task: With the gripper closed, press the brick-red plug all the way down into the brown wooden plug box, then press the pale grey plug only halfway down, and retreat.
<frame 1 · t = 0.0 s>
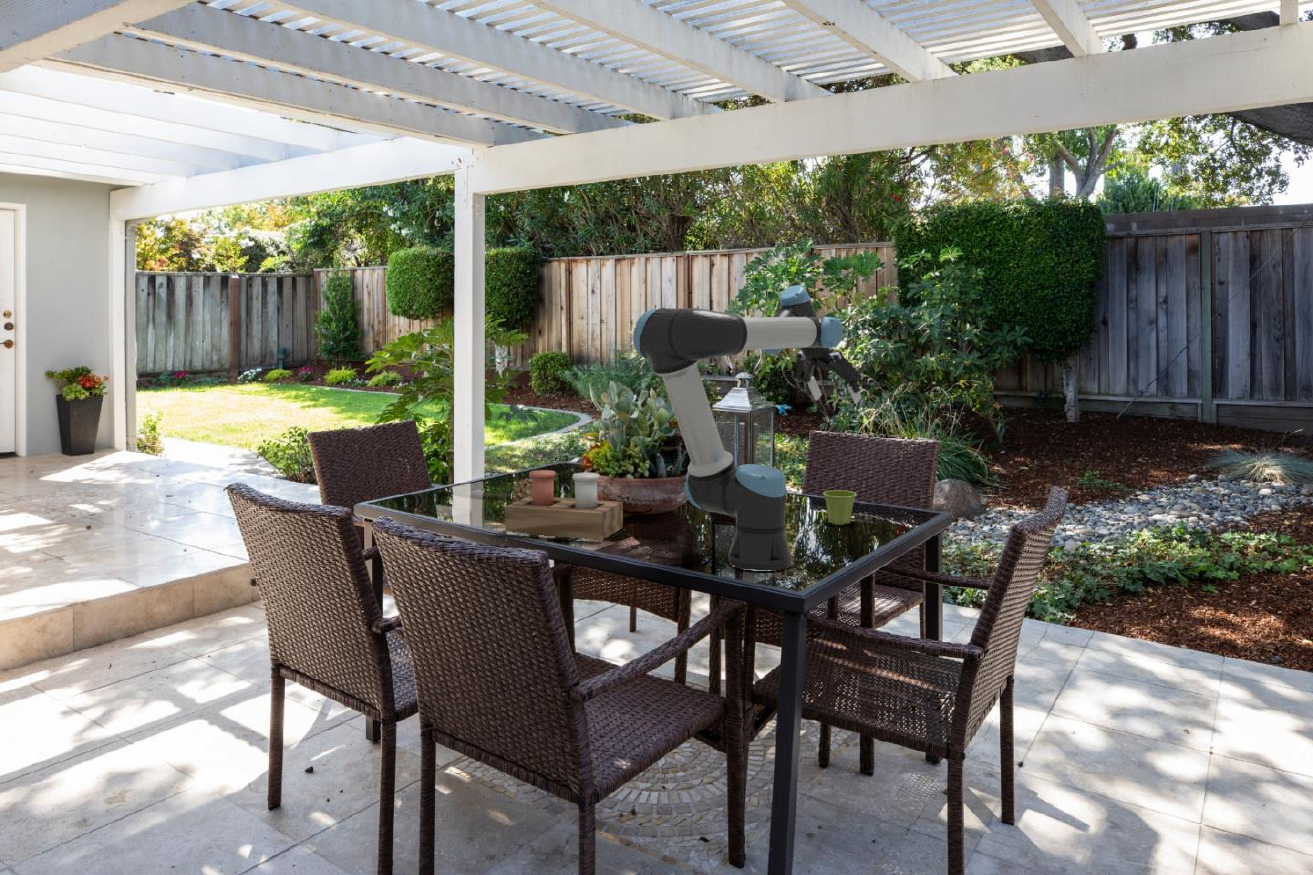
hand: (838, 399, 259), 36 cm above the table, tool tilted 35°, fingers open, 13 cm apart
red plug: (542, 491, 255), point 11 cm above the table, slide at 0.0 cm
brown wooden plug box: (564, 532, 254), on the table
plant pot: (839, 523, 266), on the table
pine cone: (527, 514, 279), on the table
grey plug: (586, 494, 251), point 11 cm above the table, slide at 0.0 cm
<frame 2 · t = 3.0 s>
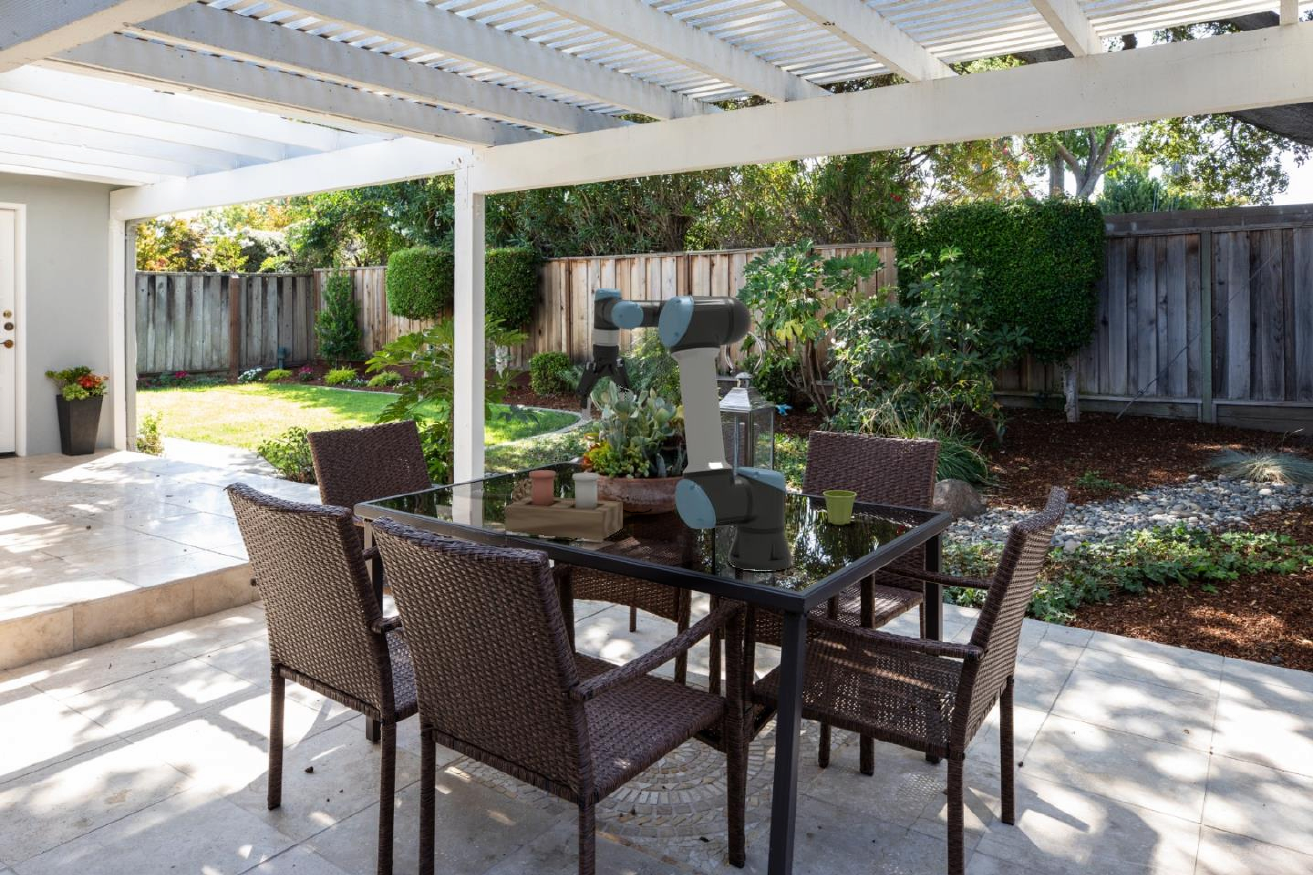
hand: (602, 416, 266), 30 cm above the table, tool pointing down, fingers open, 13 cm apart
nothing on the table moved.
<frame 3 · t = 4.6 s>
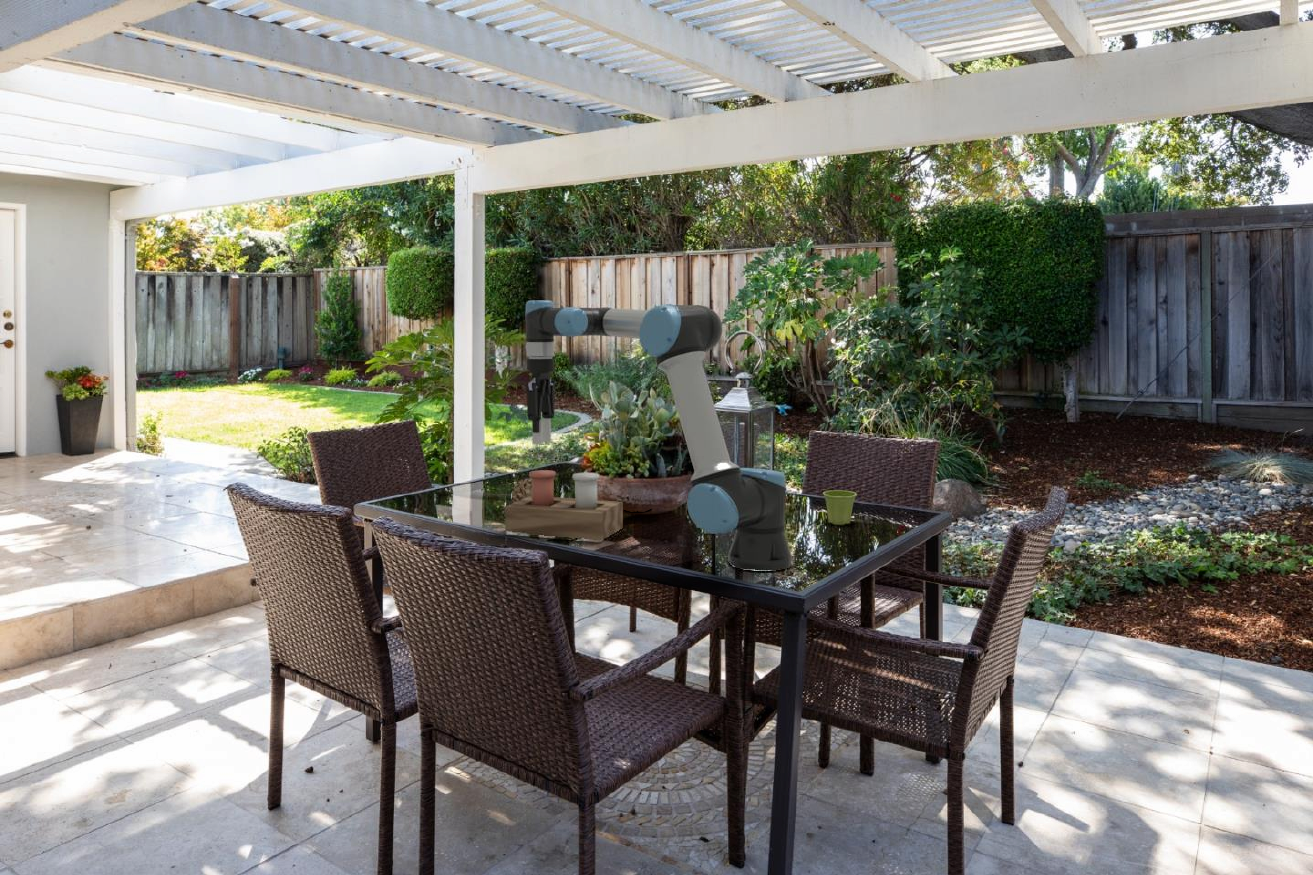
hand: (541, 442, 253), 25 cm above the table, tool pointing down, fingers open, 4 cm apart
nothing on the table moved.
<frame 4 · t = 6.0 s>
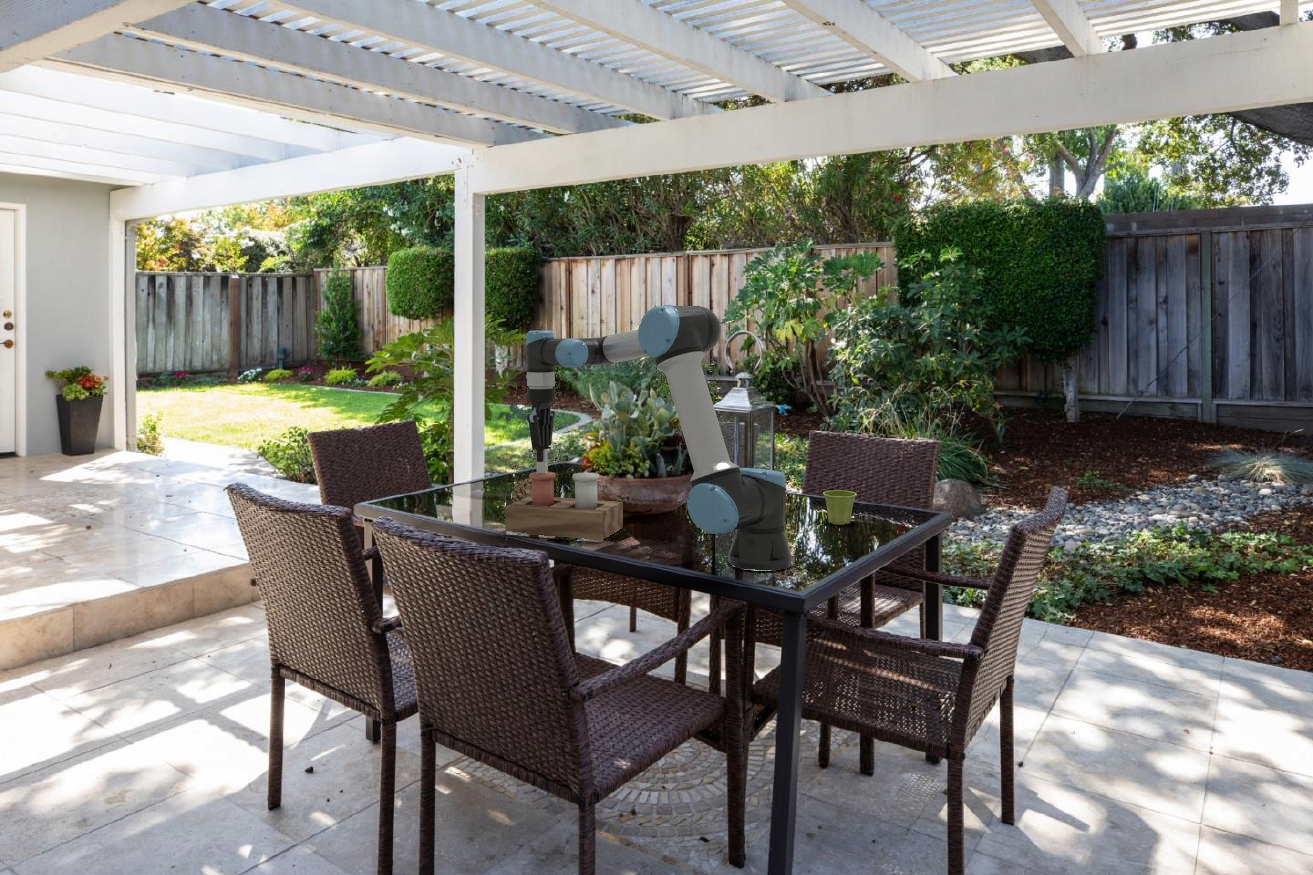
hand: (542, 472, 254), 16 cm above the table, tool pointing down, fingers closed
red plug: (542, 493, 255), point 11 cm above the table, slide at 0.4 cm, touching gripper
everything else where it was.
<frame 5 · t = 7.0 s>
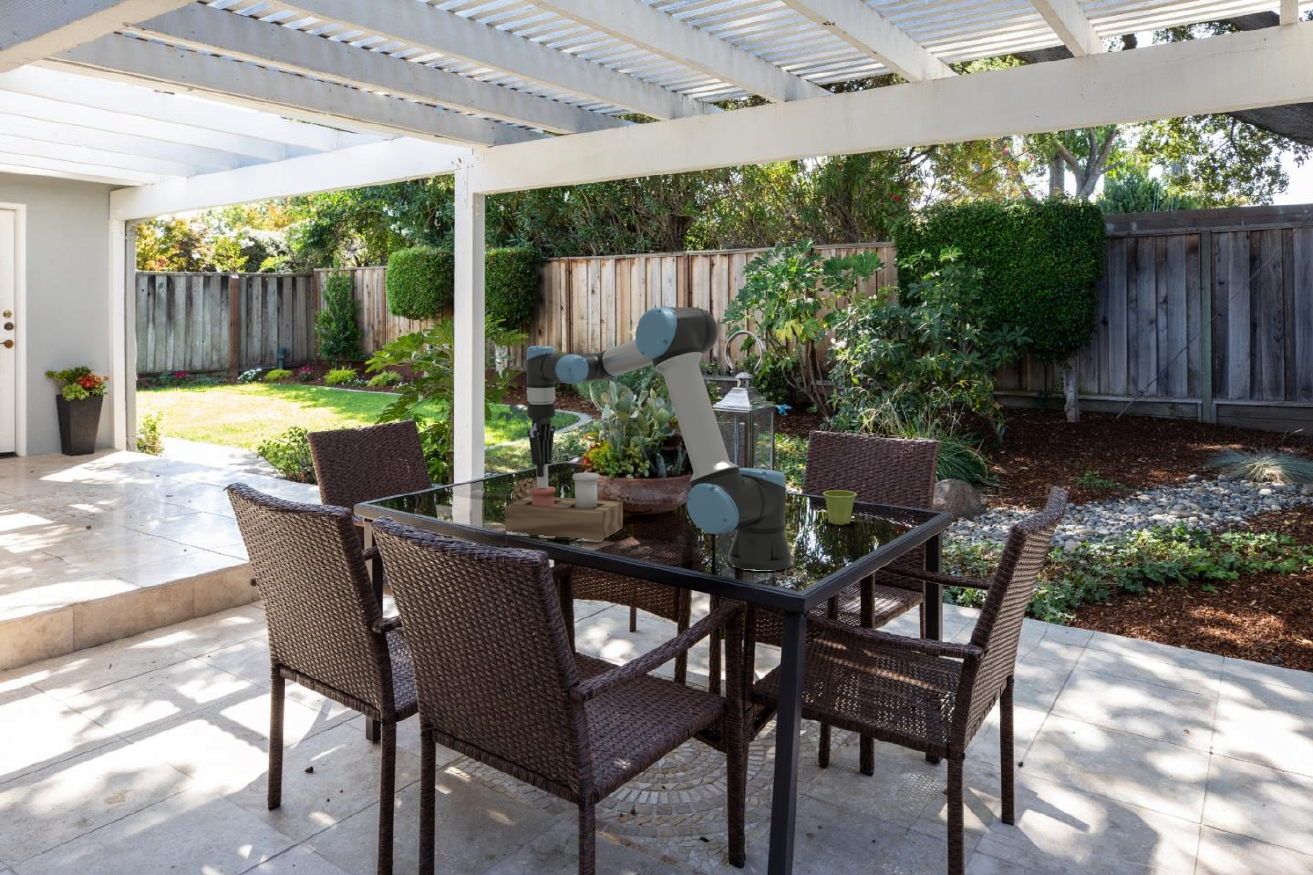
hand: (542, 487, 255), 12 cm above the table, tool pointing down, fingers closed
red plug: (543, 508, 255), point 6 cm above the table, slide at 4.6 cm, touching gripper
everything else where it was.
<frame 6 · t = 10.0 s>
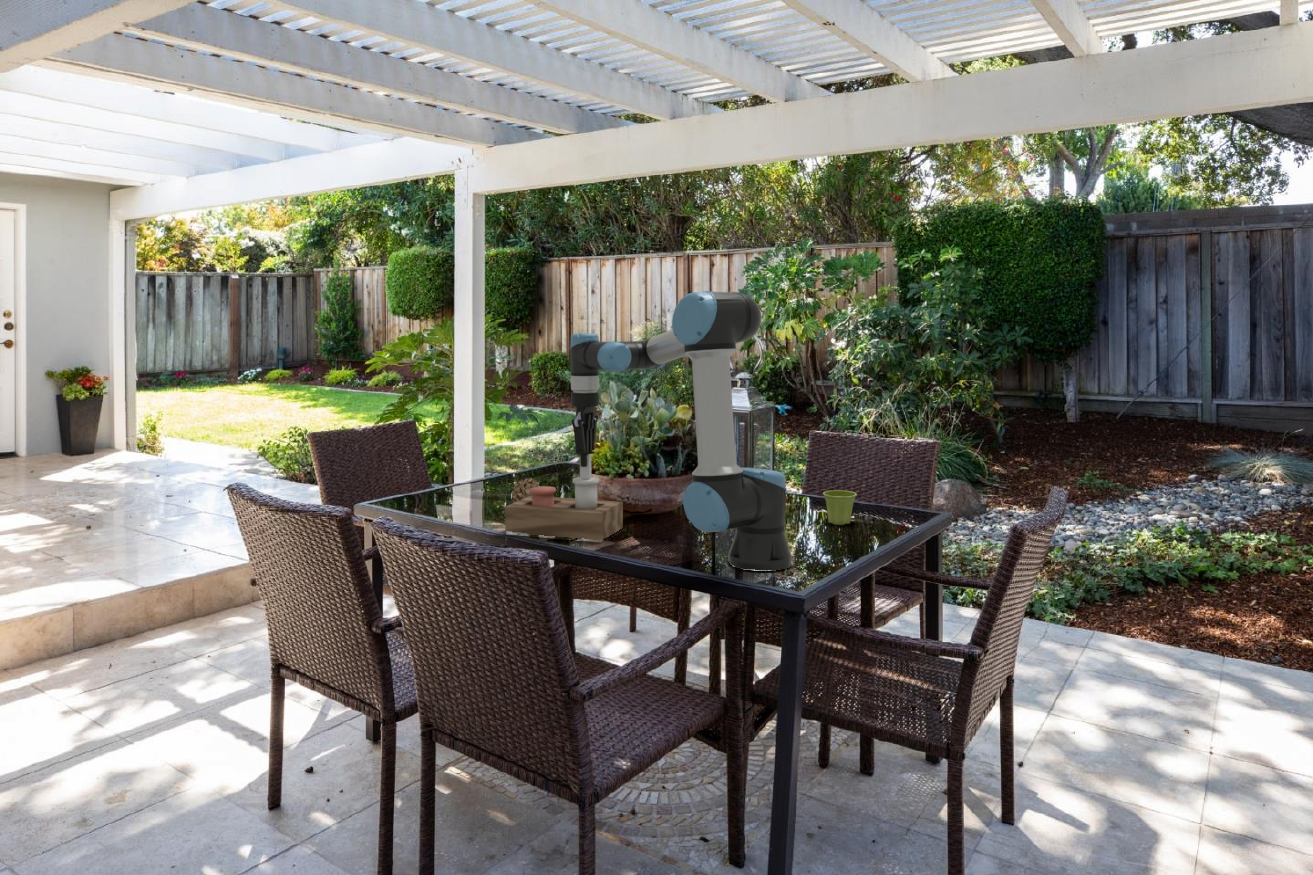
hand: (585, 478, 250), 16 cm above the table, tool pointing down, fingers closed
red plug: (543, 508, 255), point 6 cm above the table, slide at 4.6 cm
grey plug: (586, 498, 251), point 10 cm above the table, slide at 1.2 cm, touching gripper
everything else where it was.
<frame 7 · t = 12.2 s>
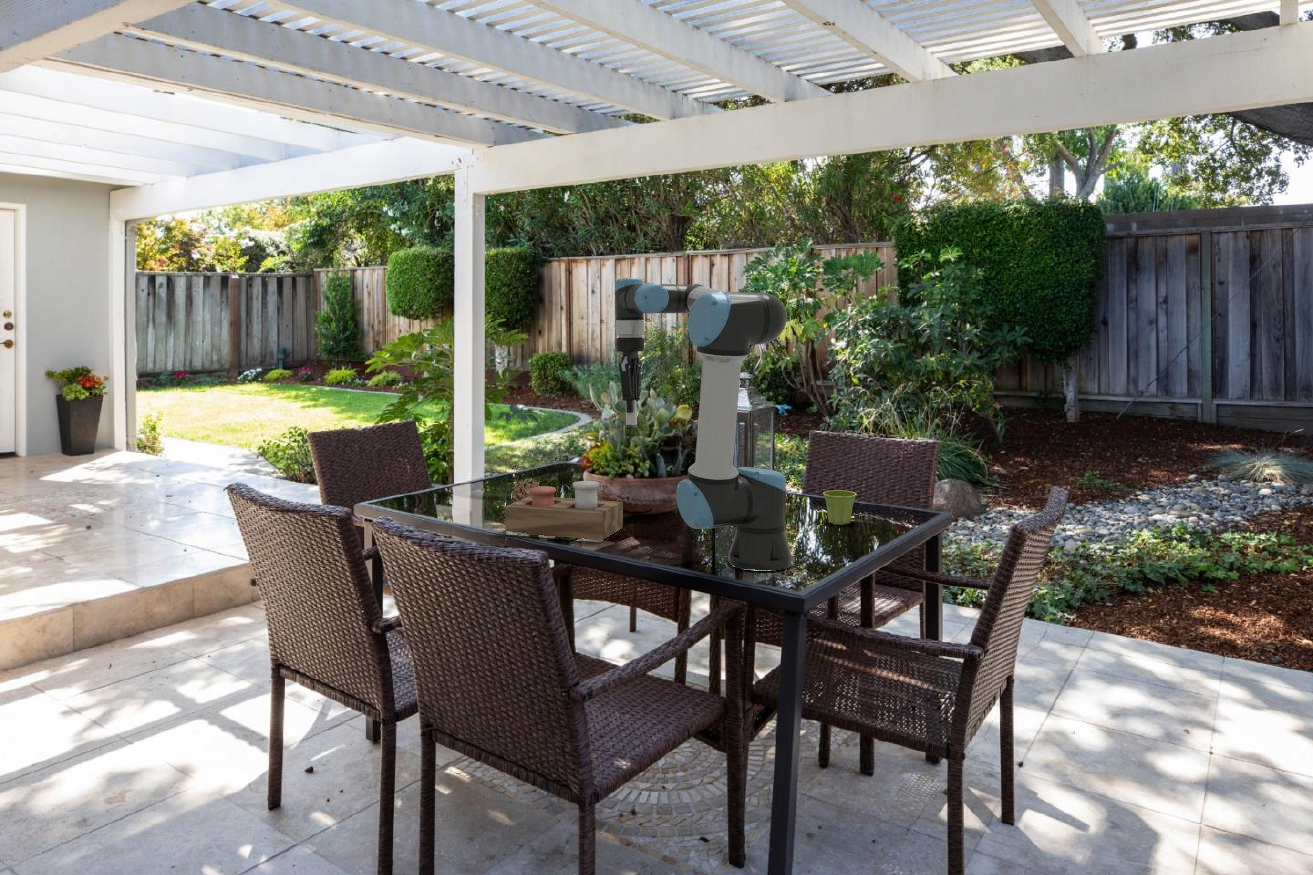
hand: (631, 424, 249), 30 cm above the table, tool pointing down, fingers closed
grey plug: (586, 503, 251), point 9 cm above the table, slide at 2.3 cm
everything else where it was.
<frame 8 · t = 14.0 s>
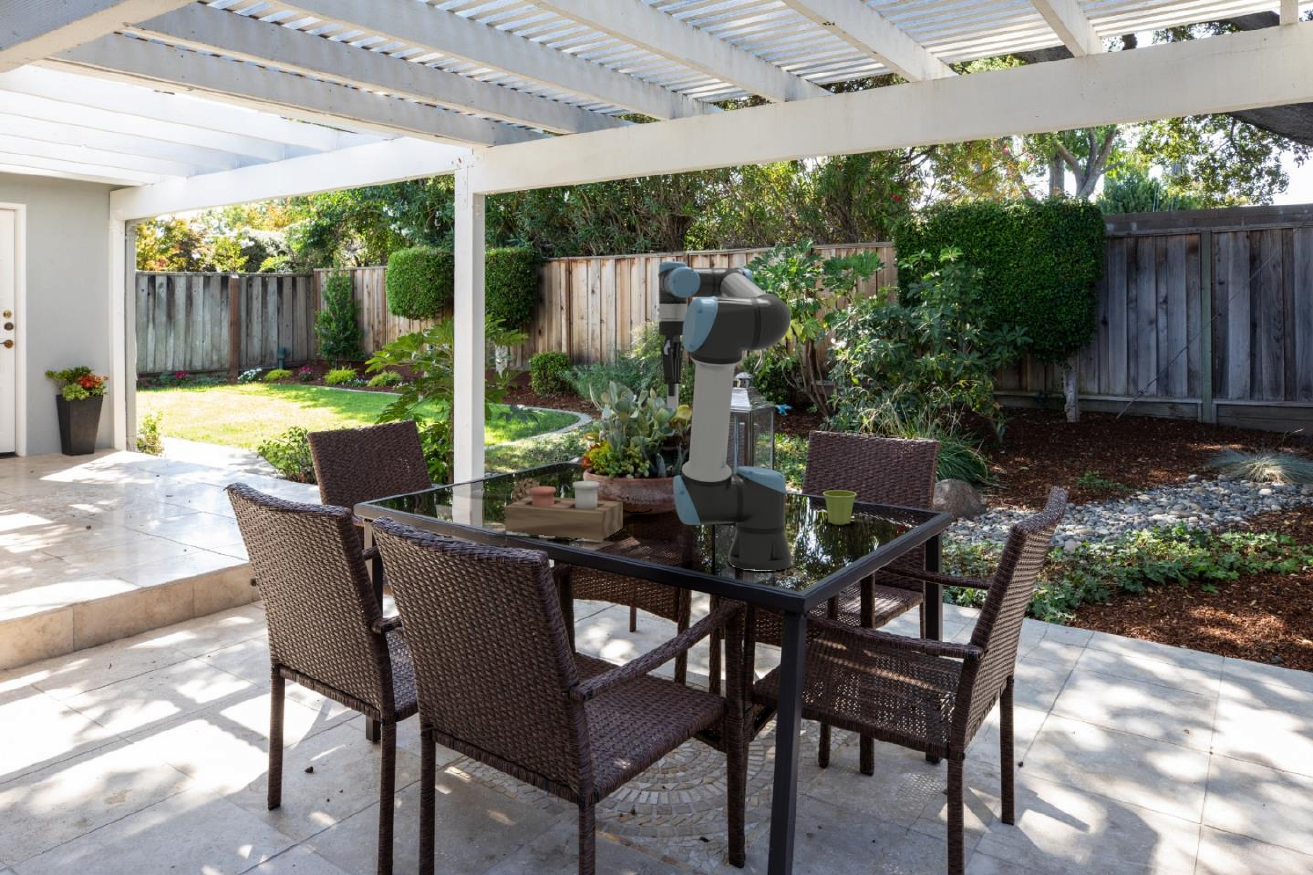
hand: (672, 408, 250), 34 cm above the table, tool pointing down, fingers closed
nothing on the table moved.
at the end: red plug slide at 4.6 cm; grey plug slide at 2.3 cm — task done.
